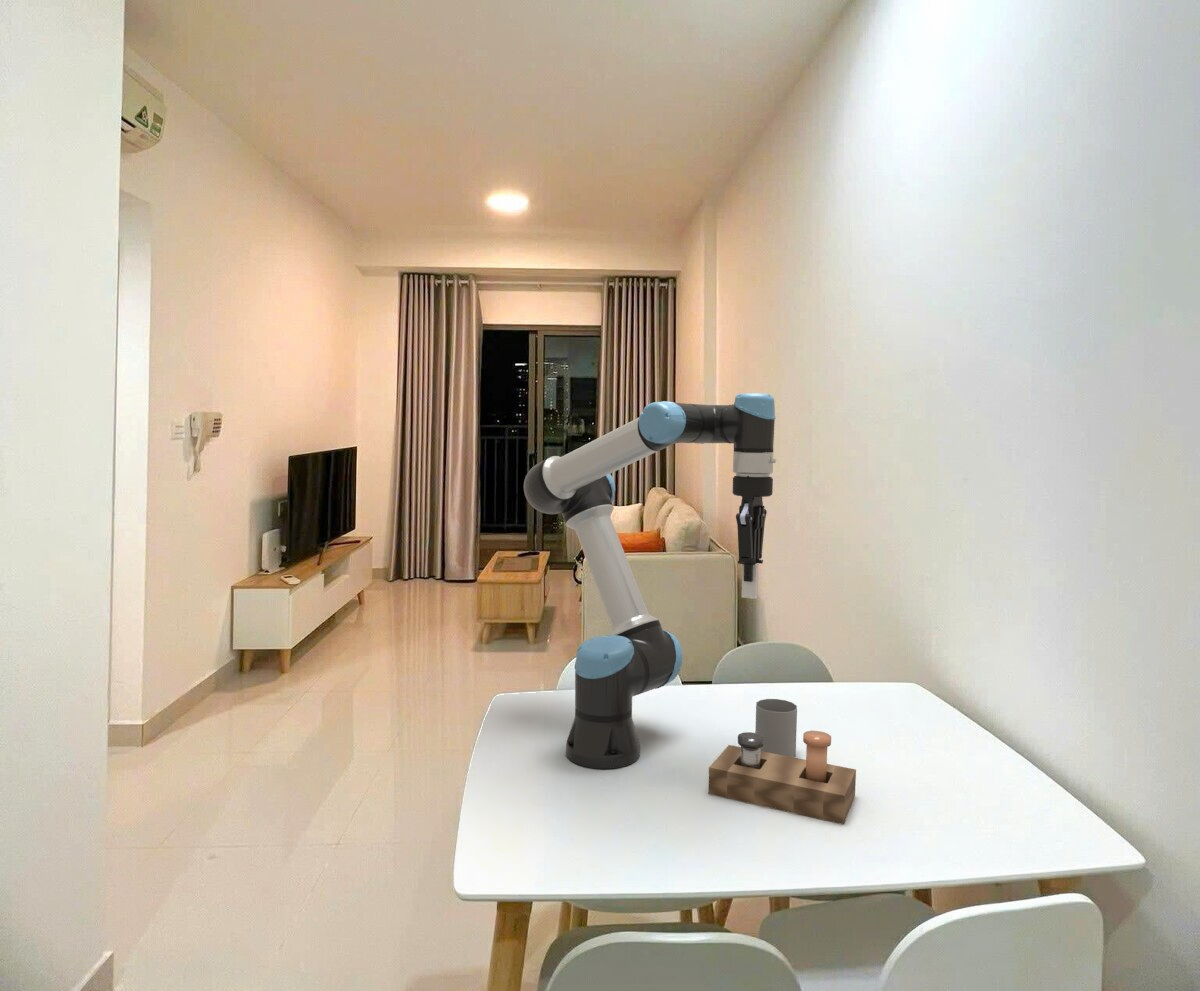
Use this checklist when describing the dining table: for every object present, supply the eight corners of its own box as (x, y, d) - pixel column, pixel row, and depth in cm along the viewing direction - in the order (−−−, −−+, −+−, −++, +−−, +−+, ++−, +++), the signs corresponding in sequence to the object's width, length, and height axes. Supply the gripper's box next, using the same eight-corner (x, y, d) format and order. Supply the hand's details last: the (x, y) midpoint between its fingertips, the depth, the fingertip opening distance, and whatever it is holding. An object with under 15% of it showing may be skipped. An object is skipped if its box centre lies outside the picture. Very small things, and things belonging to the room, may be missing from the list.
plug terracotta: (799, 785, 140) (800, 737, 139) (805, 775, 144) (806, 728, 143) (826, 791, 137) (828, 742, 137) (831, 780, 142) (833, 733, 141)
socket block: (708, 793, 144) (708, 767, 143) (728, 769, 154) (728, 744, 154) (843, 824, 133) (844, 795, 133) (855, 796, 144) (856, 769, 143)
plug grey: (733, 785, 145) (734, 739, 145) (740, 775, 149) (742, 730, 149) (758, 790, 143) (760, 743, 142) (765, 780, 147) (767, 735, 147)
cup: (796, 762, 158) (797, 714, 158) (754, 758, 160) (756, 710, 159) (794, 746, 167) (796, 700, 166) (755, 743, 168) (756, 697, 167)
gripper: (763, 477, 142) (759, 605, 144) (780, 474, 154) (777, 593, 156) (723, 475, 146) (720, 601, 147) (743, 473, 157) (740, 589, 159)
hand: (749, 597), depth 151 cm, fingers closed
